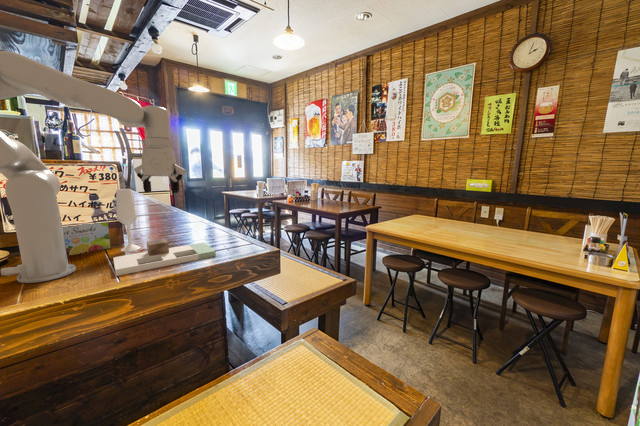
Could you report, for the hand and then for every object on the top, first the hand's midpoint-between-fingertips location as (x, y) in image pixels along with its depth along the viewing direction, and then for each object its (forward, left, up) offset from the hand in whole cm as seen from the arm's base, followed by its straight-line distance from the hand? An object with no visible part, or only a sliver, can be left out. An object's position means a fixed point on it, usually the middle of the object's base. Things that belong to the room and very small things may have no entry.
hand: (161, 192), depth 96 cm
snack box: (-27, +24, -24) cm, 43 cm away
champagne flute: (-10, +18, -24) cm, 31 cm away
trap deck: (-1, -5, -24) cm, 24 cm away
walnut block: (-3, -1, -22) cm, 22 cm away
